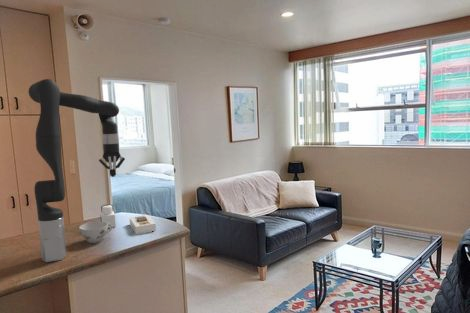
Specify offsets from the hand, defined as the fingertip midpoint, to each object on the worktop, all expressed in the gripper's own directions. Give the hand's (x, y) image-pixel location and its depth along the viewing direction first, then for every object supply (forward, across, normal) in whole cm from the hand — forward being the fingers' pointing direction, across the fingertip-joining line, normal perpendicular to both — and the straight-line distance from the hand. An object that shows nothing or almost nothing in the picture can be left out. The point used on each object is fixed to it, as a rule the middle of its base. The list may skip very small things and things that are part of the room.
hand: (113, 176), depth 170 cm
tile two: (+26, +13, -1) cm, 29 cm away
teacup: (+29, -10, -9) cm, 32 cm away
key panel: (+29, +13, -1) cm, 32 cm away
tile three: (+28, +13, +5) cm, 31 cm away
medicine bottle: (+29, -3, +11) cm, 31 cm away
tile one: (+28, +13, -7) cm, 31 cm away
